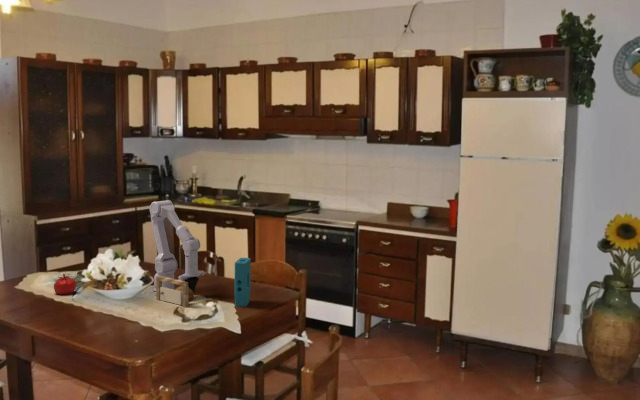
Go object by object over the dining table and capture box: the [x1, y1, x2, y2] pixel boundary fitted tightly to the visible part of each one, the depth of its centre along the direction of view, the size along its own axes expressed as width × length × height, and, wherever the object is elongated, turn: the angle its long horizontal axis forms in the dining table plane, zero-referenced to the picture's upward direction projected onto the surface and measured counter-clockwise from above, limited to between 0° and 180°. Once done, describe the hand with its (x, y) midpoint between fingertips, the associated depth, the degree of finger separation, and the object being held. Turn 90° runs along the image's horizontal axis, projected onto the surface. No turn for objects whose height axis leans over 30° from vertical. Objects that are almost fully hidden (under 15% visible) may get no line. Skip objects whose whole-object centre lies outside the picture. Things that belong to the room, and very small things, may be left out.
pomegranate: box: [53, 273, 78, 295], centre depth 287 cm, size 10×10×9 cm
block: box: [234, 257, 252, 307], centre depth 275 cm, size 12×5×20 cm, turn 174°
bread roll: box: [174, 285, 195, 302], centre depth 281 cm, size 10×10×8 cm
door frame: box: [155, 276, 189, 308], centre depth 274 cm, size 19×2×11 cm, turn 55°
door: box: [159, 287, 183, 306], centre depth 274 cm, size 15×2×6 cm, turn 55°
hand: (191, 292), depth 285 cm, fingers closed
